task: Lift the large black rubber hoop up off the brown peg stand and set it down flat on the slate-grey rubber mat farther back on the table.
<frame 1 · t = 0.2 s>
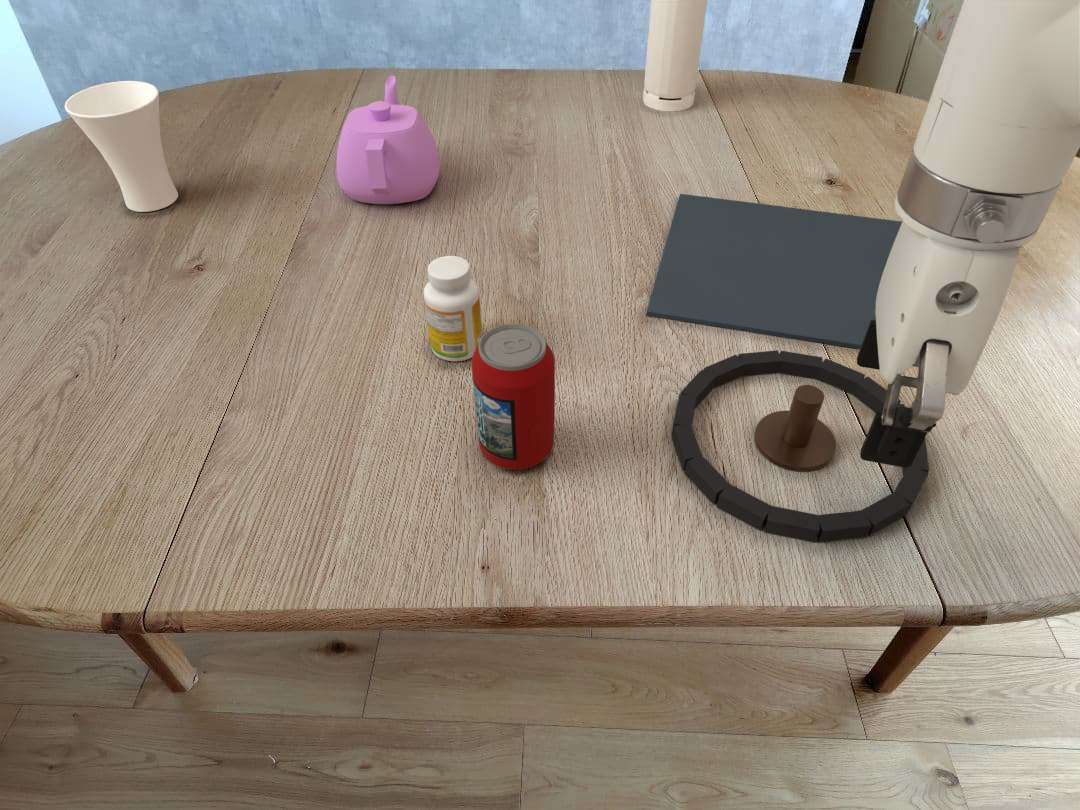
hand: (880, 411, 54), 12 cm above the table, tool pointing down, fingers open, 9 cm apart
teapot: (392, 184, 104), on the table
supplement bottle: (457, 347, 79), on the table
bottle: (667, 102, 122), on the table
beverage can: (516, 448, 69), on the table
mat: (784, 267, 89), on the table
cup: (153, 201, 101), on the table
ring: (794, 442, 69), on the table
brown peg stand: (794, 442, 69), on the table
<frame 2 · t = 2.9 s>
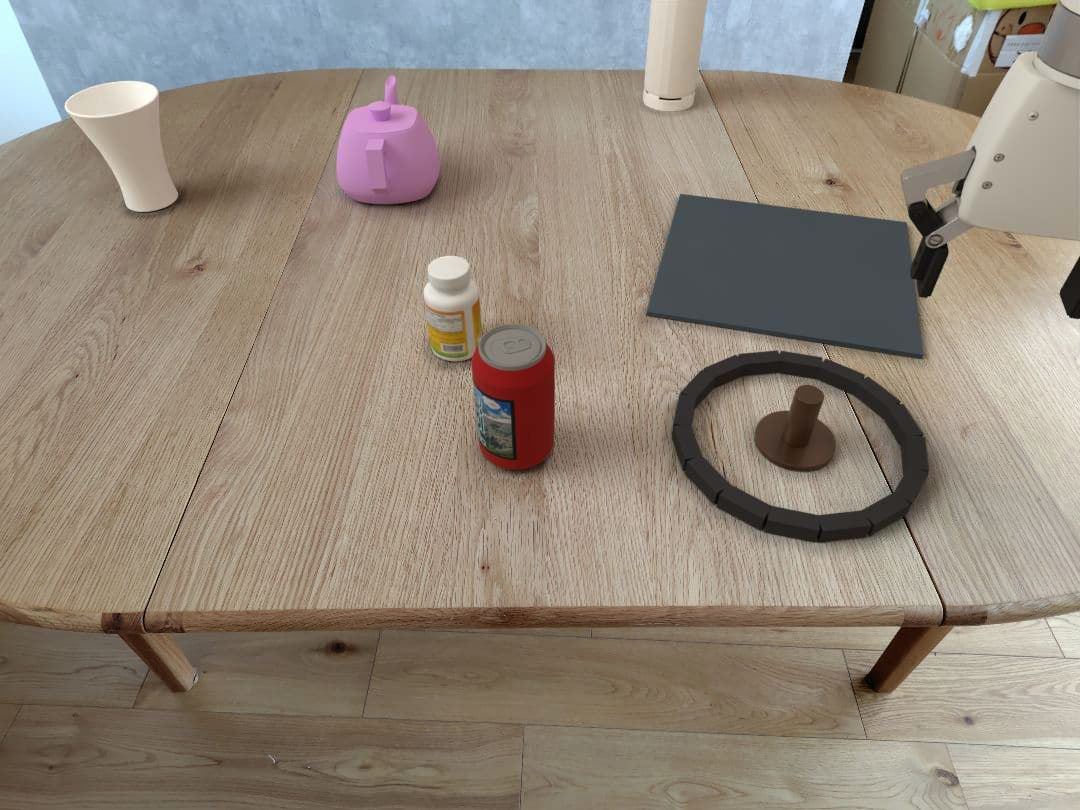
hand: (993, 296, 54), 18 cm above the table, tool pointing down, fingers open, 9 cm apart
nothing on the table moved.
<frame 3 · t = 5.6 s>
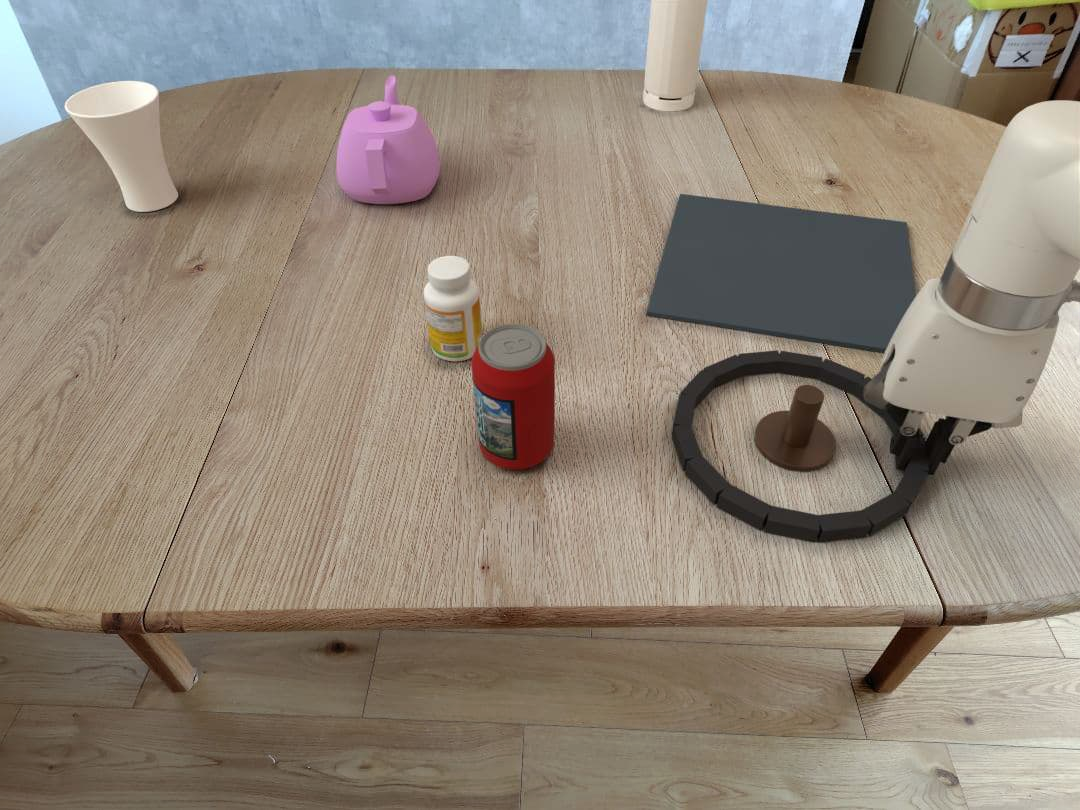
hand: (913, 459, 67), 1 cm above the table, tool pointing down, fingers closed on ring, 1 cm apart
ring: (794, 442, 69), on the table, touching gripper
everything else where it was.
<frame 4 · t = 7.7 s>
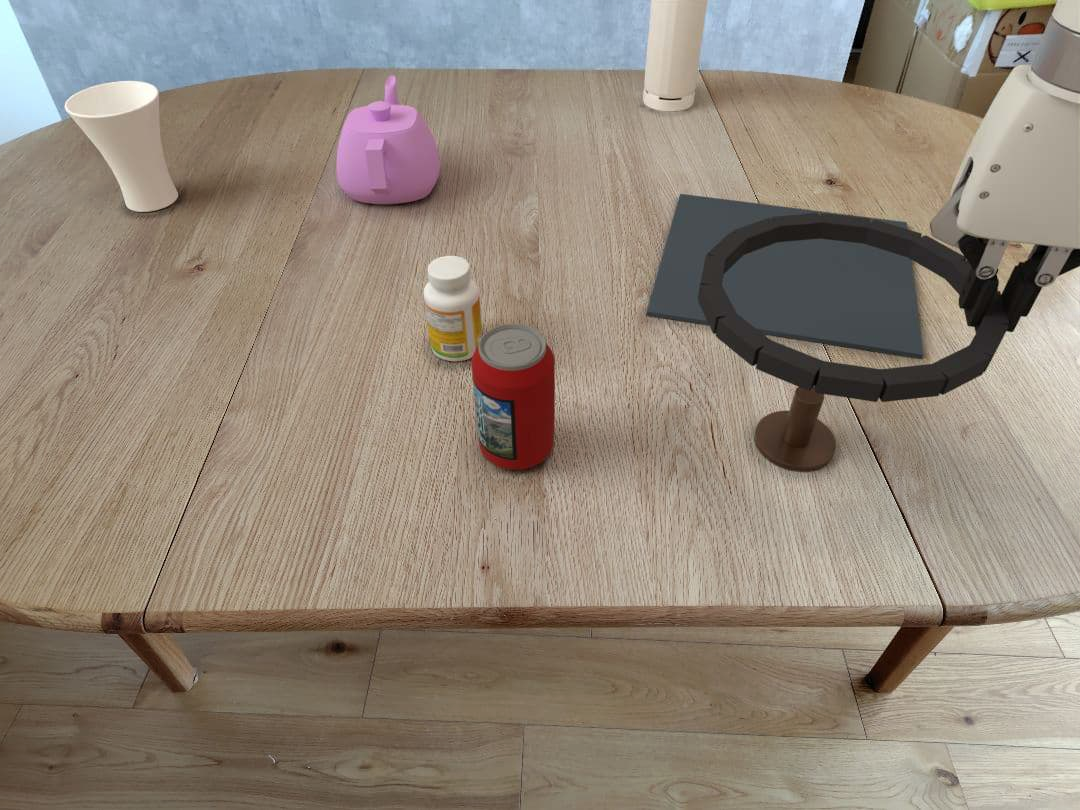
hand: (987, 316, 56), 16 cm above the table, tool pointing down, fingers closed on ring
ring: (842, 304, 59), point 15 cm above the table, touching gripper
everything else where it was.
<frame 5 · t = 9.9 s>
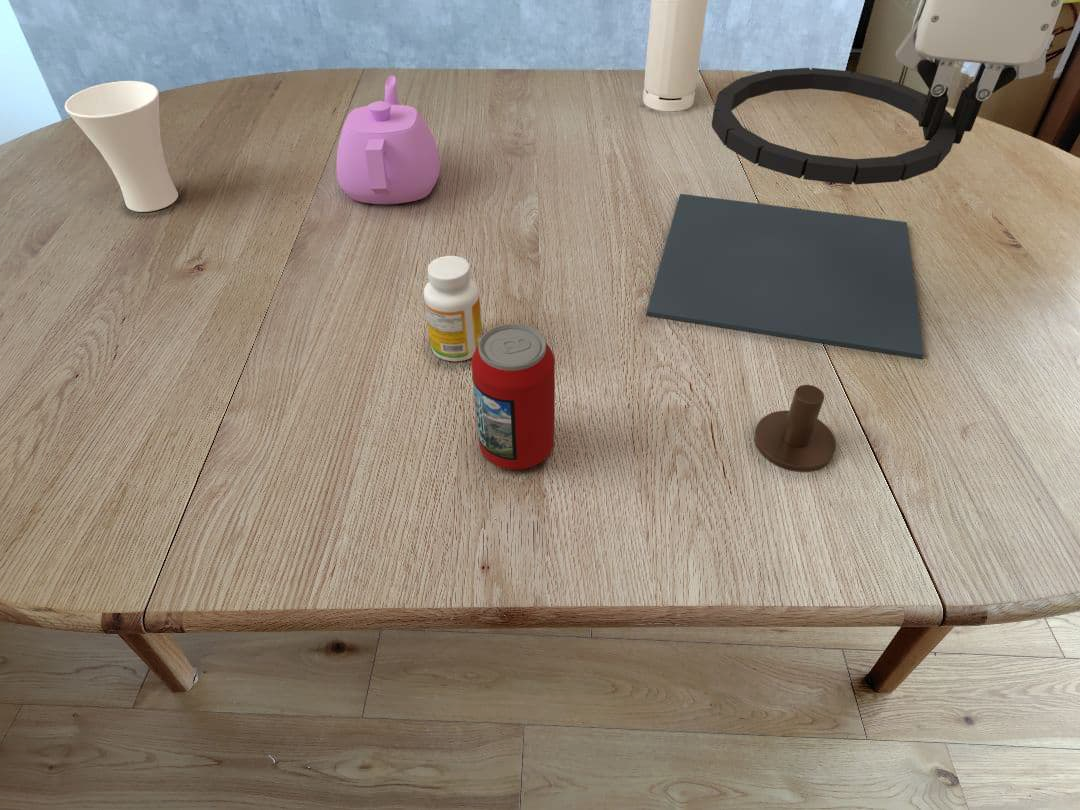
hand: (940, 134, 71), 19 cm above the table, tool pointing down, fingers closed on ring
ring: (827, 128, 73), point 18 cm above the table, touching gripper
everything else where it was.
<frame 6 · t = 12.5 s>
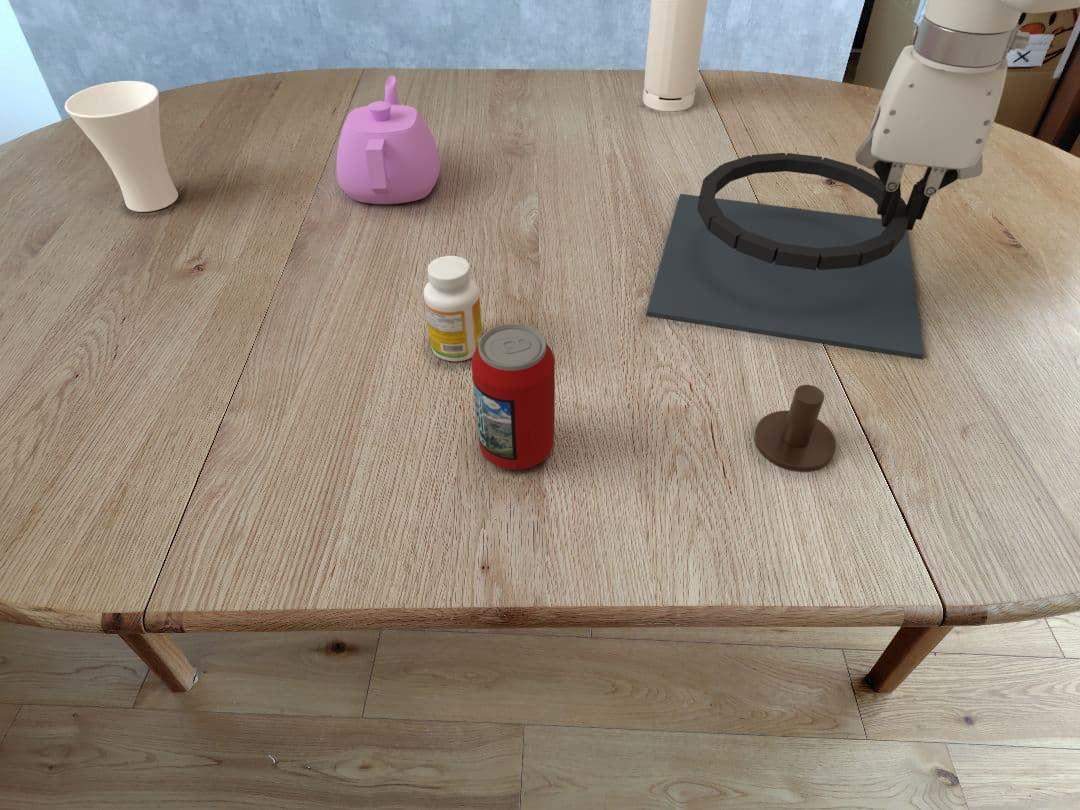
hand: (896, 221, 82), 8 cm above the table, tool pointing down, fingers closed on ring
ring: (798, 212, 84), point 7 cm above the table, touching gripper
everything else where it was.
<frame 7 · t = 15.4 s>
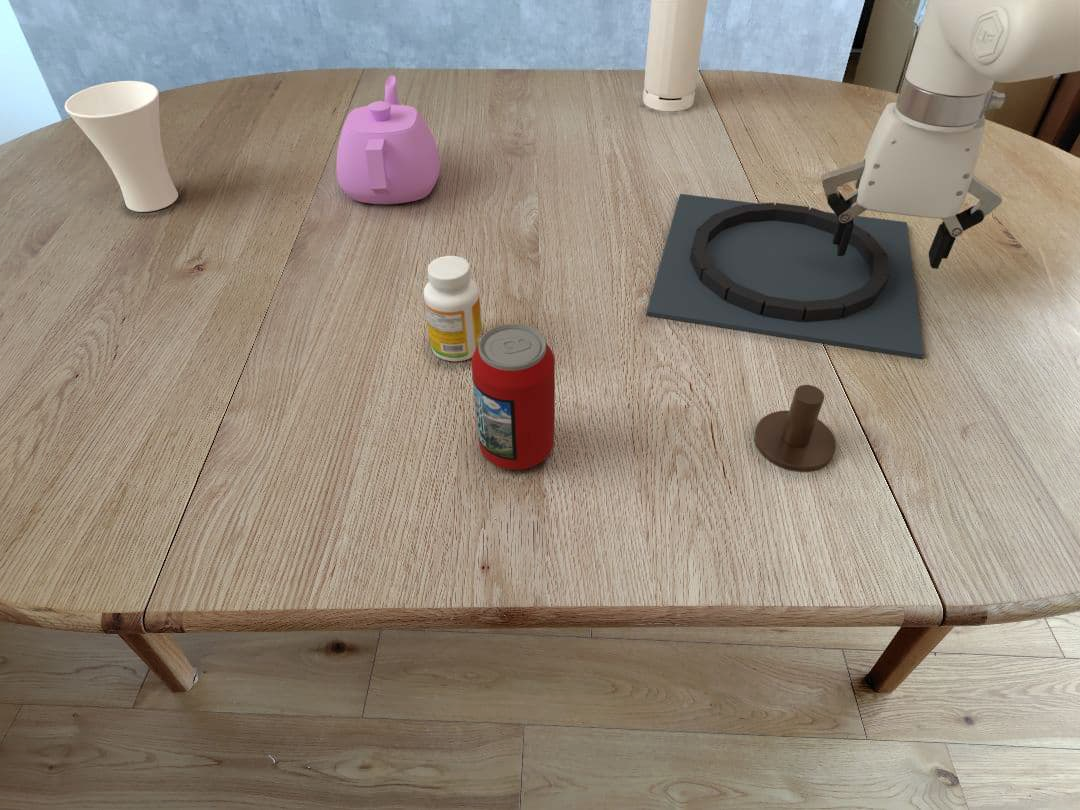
hand: (886, 255, 84), 3 cm above the table, tool pointing down, fingers open, 9 cm apart
ring: (786, 263, 88), point 1 cm above the table, touching mat
everything else where it was.
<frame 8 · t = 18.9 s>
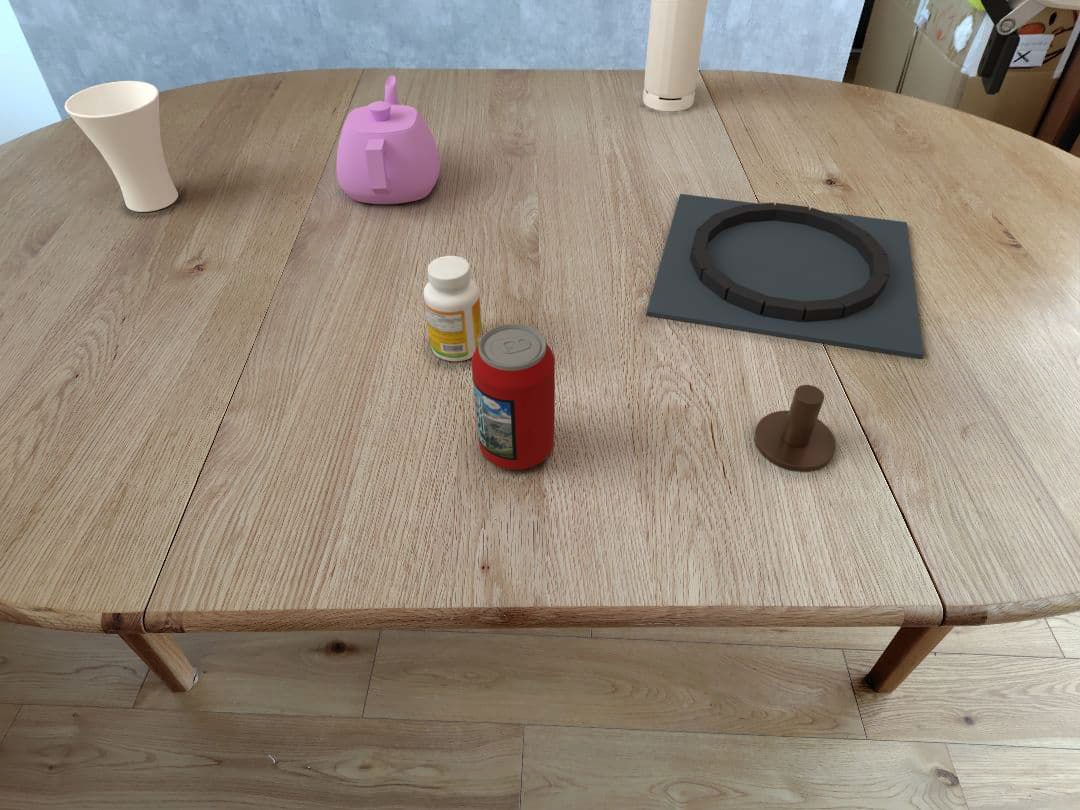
hand: (1061, 94, 55), 28 cm above the table, tool pointing down, fingers open, 9 cm apart
nothing on the table moved.
at the end: ring inside the target area on the mat (0.0 cm from its centre), point 0.6 cm above the mat's base; ring tilted 0°; ring touching mat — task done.
